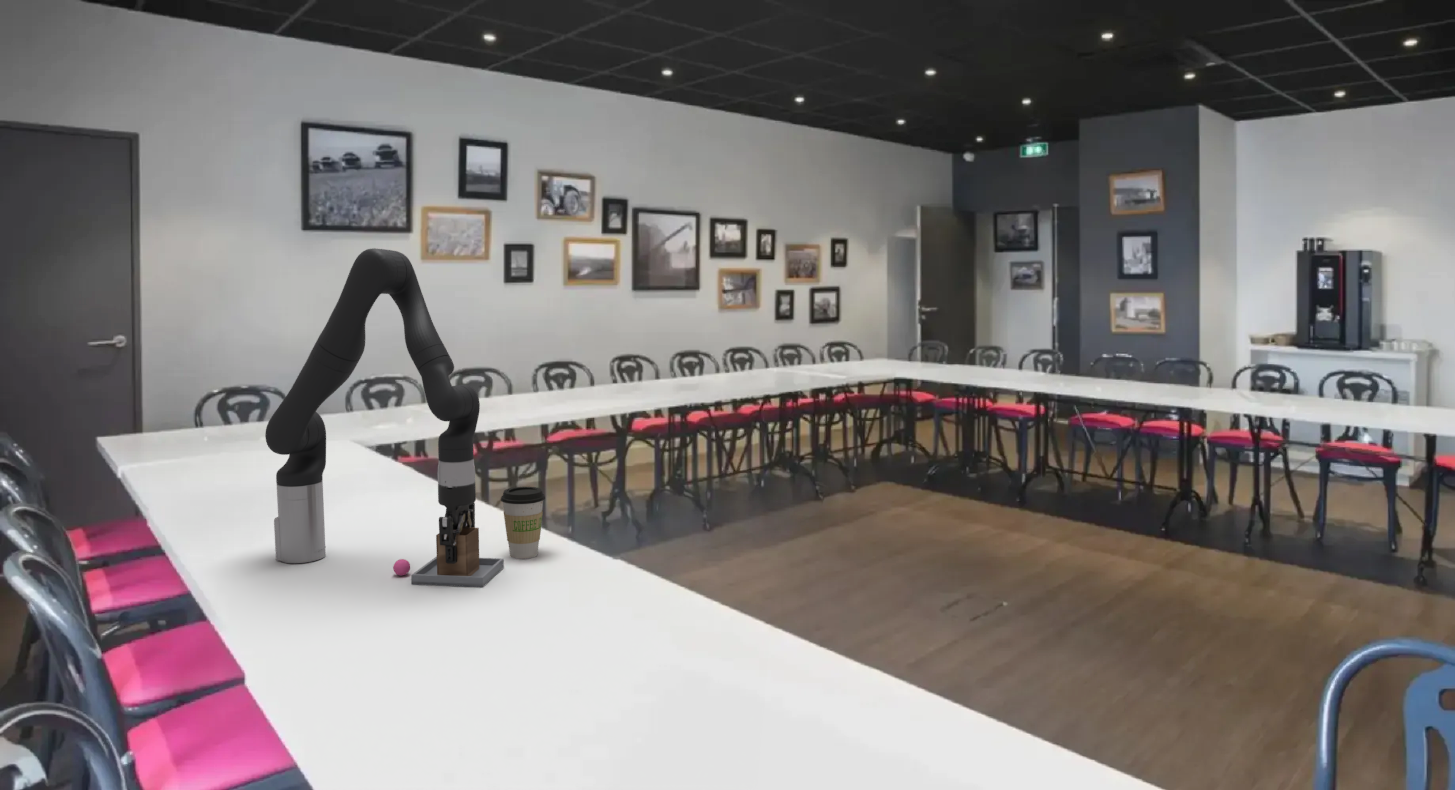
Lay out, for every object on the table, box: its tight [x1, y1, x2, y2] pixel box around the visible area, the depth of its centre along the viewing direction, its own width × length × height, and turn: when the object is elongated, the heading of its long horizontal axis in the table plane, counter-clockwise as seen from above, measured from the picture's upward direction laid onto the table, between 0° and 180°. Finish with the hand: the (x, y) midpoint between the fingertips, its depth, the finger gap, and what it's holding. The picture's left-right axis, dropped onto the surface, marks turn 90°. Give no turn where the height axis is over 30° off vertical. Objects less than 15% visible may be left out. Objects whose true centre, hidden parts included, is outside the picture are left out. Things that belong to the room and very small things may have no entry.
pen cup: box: [435, 527, 480, 576], centre depth 186 cm, size 7×7×9 cm
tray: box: [410, 555, 505, 588], centre depth 186 cm, size 15×13×2 cm
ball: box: [392, 558, 411, 576], centre depth 186 cm, size 3×3×3 cm
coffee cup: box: [500, 486, 546, 560], centre depth 201 cm, size 10×10×15 cm
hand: (458, 557), depth 186 cm, fingers open, 7 cm apart
